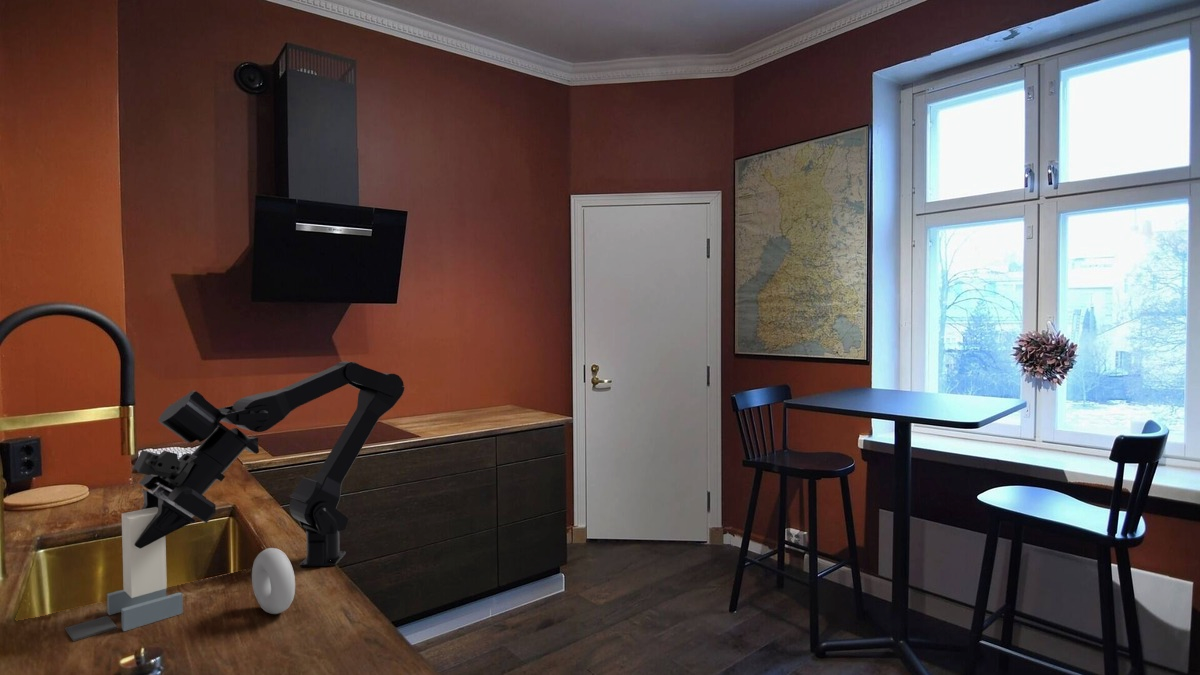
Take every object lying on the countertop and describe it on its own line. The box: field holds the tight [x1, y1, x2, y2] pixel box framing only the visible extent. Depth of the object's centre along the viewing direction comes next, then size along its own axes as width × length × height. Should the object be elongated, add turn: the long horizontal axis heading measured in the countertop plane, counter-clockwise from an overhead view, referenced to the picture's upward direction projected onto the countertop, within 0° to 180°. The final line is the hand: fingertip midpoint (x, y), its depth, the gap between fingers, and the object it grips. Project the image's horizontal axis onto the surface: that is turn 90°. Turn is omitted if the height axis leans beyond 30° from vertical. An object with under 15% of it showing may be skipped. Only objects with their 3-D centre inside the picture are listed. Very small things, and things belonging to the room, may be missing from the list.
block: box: [121, 507, 168, 598], centre depth 97 cm, size 4×4×12 cm
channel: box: [106, 588, 184, 632], centre depth 97 cm, size 8×9×3 cm
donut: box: [251, 547, 296, 615], centre depth 97 cm, size 10×4×10 cm, turn 51°
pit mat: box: [64, 615, 118, 642], centre depth 92 cm, size 5×6×1 cm
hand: (132, 543), depth 96 cm, fingers closed on block, 4 cm apart
